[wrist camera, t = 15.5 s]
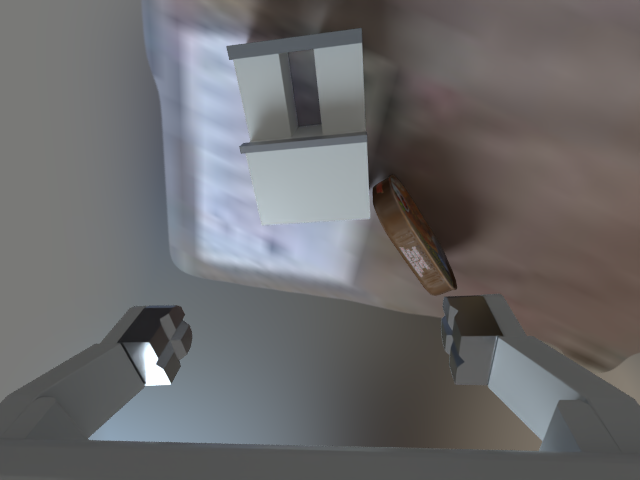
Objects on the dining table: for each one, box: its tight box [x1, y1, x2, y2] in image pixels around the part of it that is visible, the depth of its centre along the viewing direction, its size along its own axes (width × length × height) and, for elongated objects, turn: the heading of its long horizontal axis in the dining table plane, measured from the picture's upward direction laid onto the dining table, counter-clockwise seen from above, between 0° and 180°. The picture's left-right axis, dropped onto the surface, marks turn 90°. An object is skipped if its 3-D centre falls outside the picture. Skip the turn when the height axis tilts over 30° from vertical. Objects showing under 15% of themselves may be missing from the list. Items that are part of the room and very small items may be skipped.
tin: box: [373, 175, 457, 296], centre depth 37 cm, size 15×3×8 cm, turn 36°
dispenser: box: [226, 28, 370, 225], centre depth 32 cm, size 11×16×8 cm
